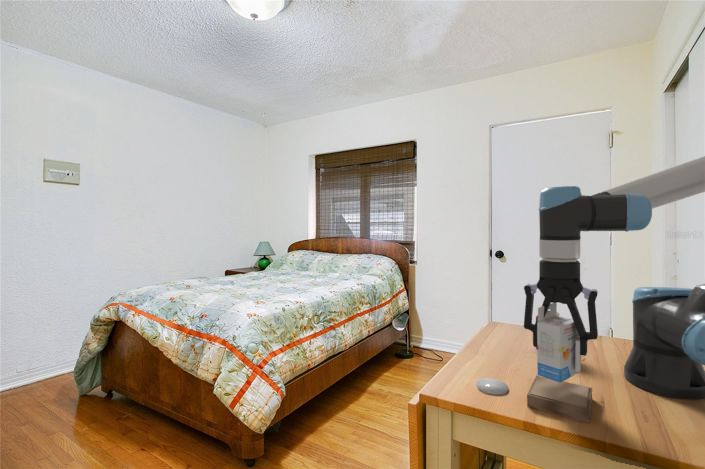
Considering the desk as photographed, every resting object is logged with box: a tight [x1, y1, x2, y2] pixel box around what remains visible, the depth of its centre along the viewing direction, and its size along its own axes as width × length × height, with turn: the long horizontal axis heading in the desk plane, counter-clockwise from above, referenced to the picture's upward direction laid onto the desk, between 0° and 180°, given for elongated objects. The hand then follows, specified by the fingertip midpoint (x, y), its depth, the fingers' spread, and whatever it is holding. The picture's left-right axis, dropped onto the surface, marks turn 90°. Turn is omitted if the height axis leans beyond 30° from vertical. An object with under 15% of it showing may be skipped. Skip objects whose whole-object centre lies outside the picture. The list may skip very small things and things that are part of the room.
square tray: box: [526, 375, 593, 424], centre depth 75 cm, size 11×11×3 cm
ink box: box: [536, 303, 580, 383], centre depth 75 cm, size 8×5×15 cm, turn 125°
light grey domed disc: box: [475, 377, 509, 396], centre depth 83 cm, size 7×7×1 cm
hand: (559, 365), depth 75 cm, fingers closed on ink box, 6 cm apart
